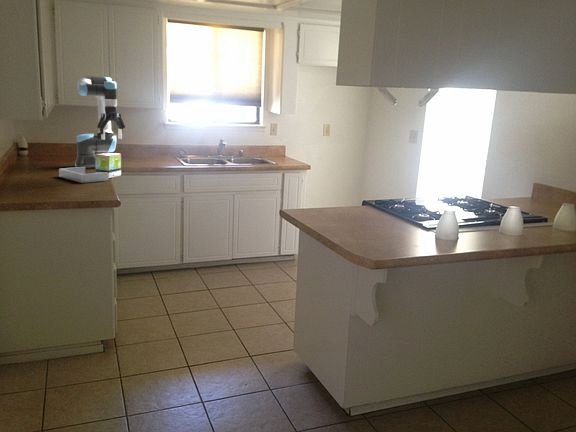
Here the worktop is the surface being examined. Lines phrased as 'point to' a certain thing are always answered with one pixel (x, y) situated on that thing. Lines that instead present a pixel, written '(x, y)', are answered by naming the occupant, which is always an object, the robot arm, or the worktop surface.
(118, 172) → the tea box
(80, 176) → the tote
